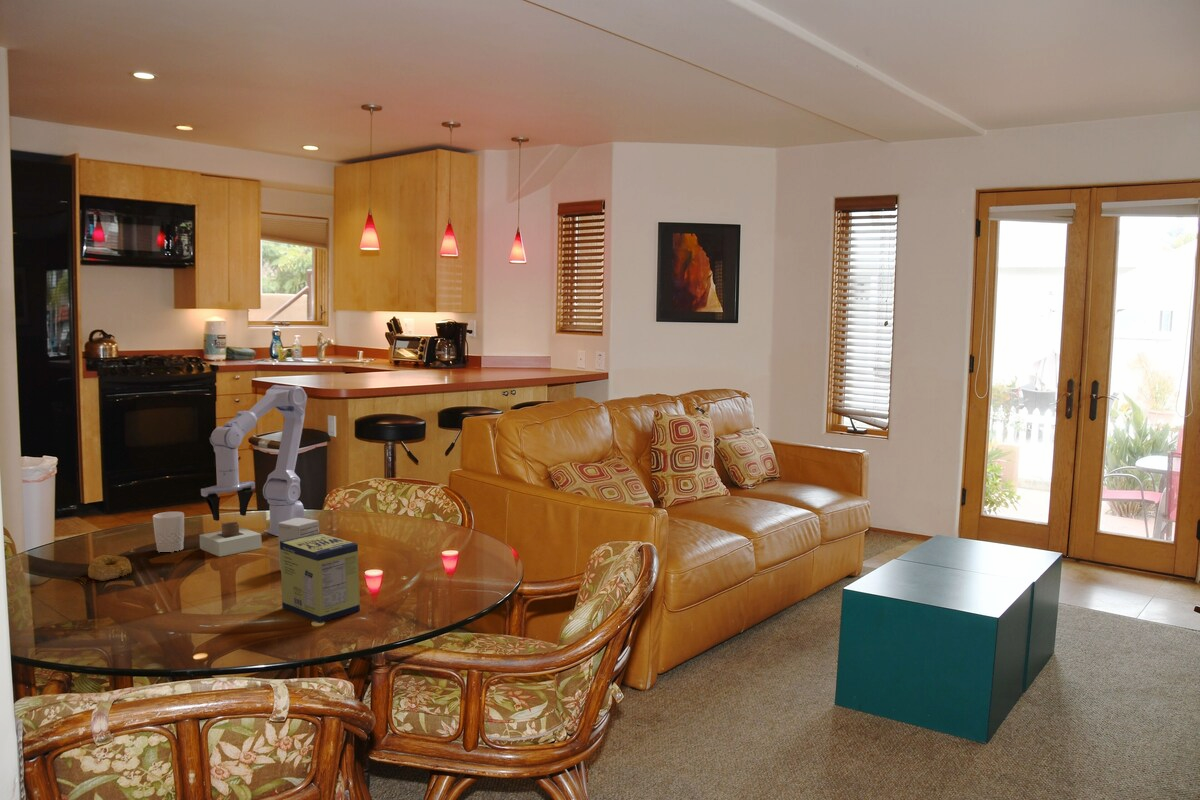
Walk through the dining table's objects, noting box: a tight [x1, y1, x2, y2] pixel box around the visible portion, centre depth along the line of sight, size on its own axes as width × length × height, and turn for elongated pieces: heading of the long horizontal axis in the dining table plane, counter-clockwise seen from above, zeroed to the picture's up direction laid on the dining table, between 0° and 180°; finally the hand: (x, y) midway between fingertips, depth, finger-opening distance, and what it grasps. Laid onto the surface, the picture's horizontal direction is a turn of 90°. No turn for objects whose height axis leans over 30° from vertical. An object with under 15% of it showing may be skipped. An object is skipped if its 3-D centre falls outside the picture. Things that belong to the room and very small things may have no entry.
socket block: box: [199, 526, 263, 558], centre depth 252 cm, size 12×12×4 cm
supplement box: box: [278, 517, 320, 571], centre depth 232 cm, size 7×7×13 cm
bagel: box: [87, 554, 133, 582], centre depth 227 cm, size 10×11×5 cm
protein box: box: [280, 532, 361, 624], centre depth 201 cm, size 10×16×16 cm
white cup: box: [152, 511, 185, 553], centre depth 250 cm, size 8×8×10 cm
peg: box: [221, 521, 240, 538], centre depth 252 cm, size 4×4×7 cm
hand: (229, 517), depth 251 cm, fingers open, 7 cm apart
